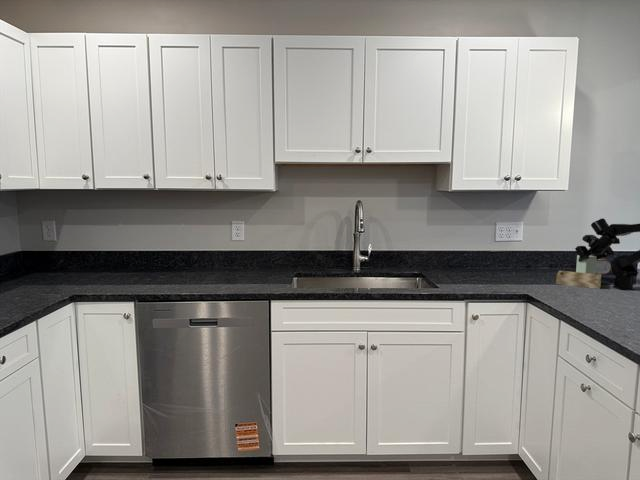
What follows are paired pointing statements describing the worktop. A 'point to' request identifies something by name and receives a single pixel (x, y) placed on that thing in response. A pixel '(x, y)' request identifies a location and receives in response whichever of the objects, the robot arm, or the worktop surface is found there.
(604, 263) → the tin
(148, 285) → the worktop surface
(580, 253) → the robot arm
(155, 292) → the worktop surface
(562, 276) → the wooden board
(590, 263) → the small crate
